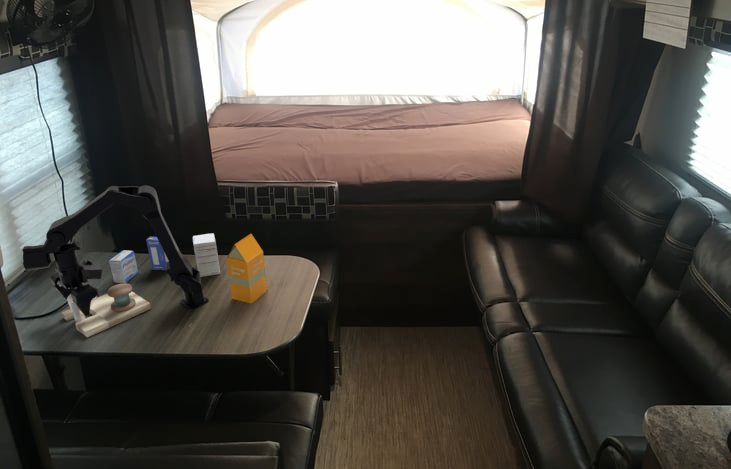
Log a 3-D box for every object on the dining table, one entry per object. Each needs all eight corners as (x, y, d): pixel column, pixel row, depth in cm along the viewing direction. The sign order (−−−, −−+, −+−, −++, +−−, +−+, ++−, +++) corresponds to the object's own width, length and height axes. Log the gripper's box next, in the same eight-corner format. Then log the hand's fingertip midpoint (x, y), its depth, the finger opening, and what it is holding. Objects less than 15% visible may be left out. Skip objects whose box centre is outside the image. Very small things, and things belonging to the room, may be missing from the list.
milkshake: (95, 318, 171) (88, 290, 166) (77, 326, 167) (69, 297, 163) (88, 313, 173) (80, 285, 169) (70, 321, 170) (62, 292, 165)
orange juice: (267, 290, 184) (261, 235, 176) (251, 303, 177) (245, 246, 168) (247, 286, 187) (241, 231, 179) (231, 298, 180) (223, 242, 171)
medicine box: (125, 284, 190) (120, 261, 186) (113, 282, 191) (108, 260, 187) (138, 272, 197) (134, 250, 193) (127, 271, 198) (122, 249, 194)
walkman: (152, 269, 199) (145, 238, 194) (155, 266, 201) (149, 235, 196) (173, 271, 197) (167, 240, 192) (176, 267, 200) (171, 236, 195)
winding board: (151, 308, 175) (149, 303, 174) (87, 337, 162) (85, 331, 161) (125, 291, 185) (124, 286, 184) (63, 317, 171) (61, 312, 170)
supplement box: (197, 268, 199) (192, 235, 194) (219, 264, 201) (214, 232, 196) (198, 277, 193) (193, 244, 188) (220, 274, 195) (215, 241, 189)
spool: (139, 304, 174) (136, 288, 171) (118, 314, 169) (114, 297, 166) (128, 297, 178) (125, 281, 175) (107, 306, 173) (103, 290, 171)
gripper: (110, 263, 162) (121, 309, 168) (81, 245, 173) (92, 289, 180) (71, 278, 154) (84, 326, 161) (43, 258, 165) (56, 304, 172)
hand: (80, 310), depth 168 cm, fingers open, 9 cm apart
